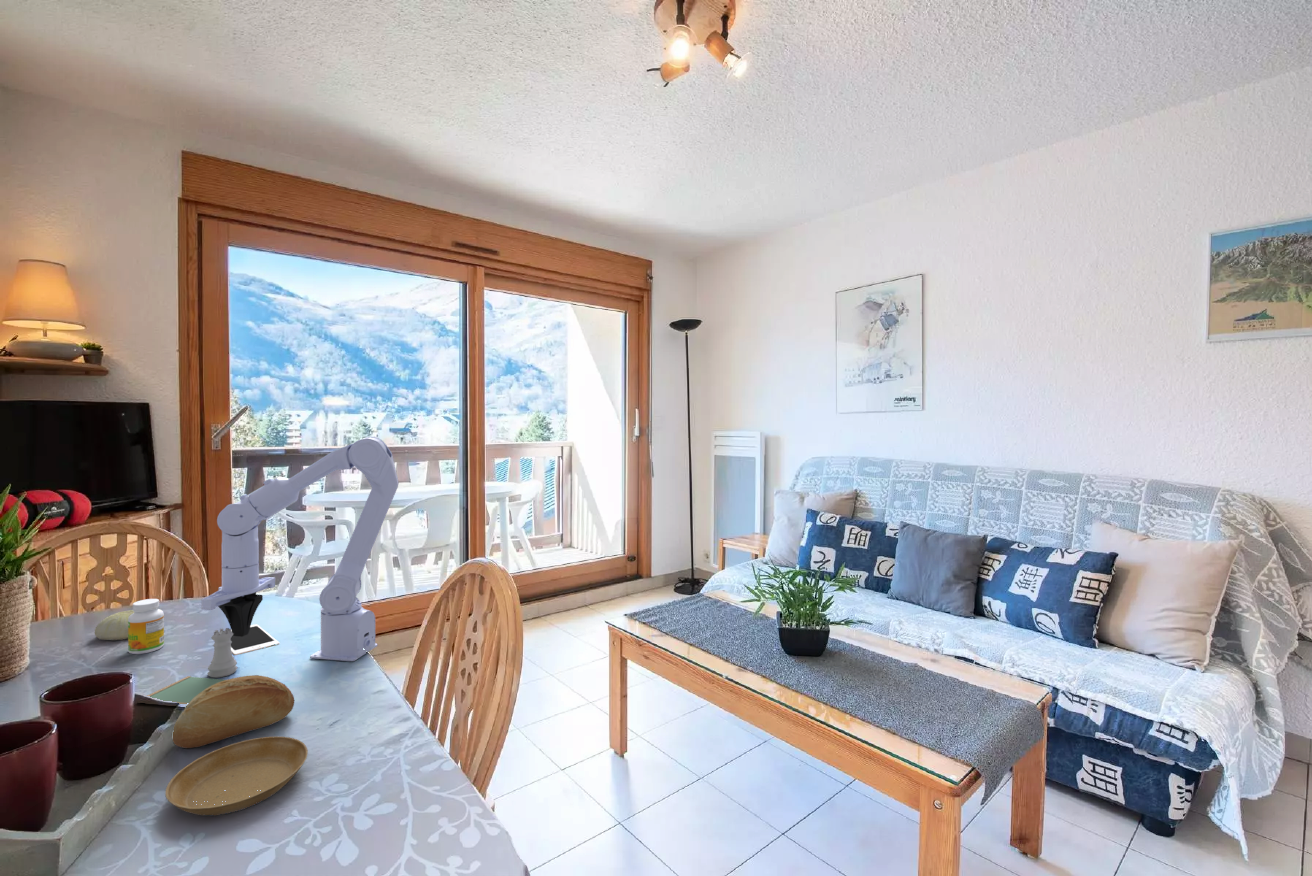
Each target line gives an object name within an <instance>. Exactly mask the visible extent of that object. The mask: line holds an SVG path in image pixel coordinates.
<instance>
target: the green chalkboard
mask: <svg viewBox="0 0 1312 876" xmlns="http://www.w3.org/2000/svg"><path fill="white" fill-rule="evenodd" d="M225 680H226V679H222V678H212V677H209V678H208V677H197V676H195V677H194V676H191V675H188V676H185V677H184V678H181V679H179V680H177V681H175V682H173V683H171V684H169V685H166V686H164V687H162V688H160V689H158V690H156V691H154V692H152V693H149V694H148V695H146V696H150V697H152V698H157V699H160V700H163V701H172V702H177V703H179V704H187V703H189V702H190V701H191V700H192V699H193V698H194V697H195V696H197V695H198V694H199V693H201V692H202V691H204V690H205V689H206V688H208V687H210V686H212V685H214V684H216V683H219V682H221V681H225Z"/></svg>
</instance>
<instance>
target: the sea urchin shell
mask: <svg viewBox="0 0 1312 876" xmlns="http://www.w3.org/2000/svg"><path fill="white" fill-rule="evenodd" d="M133 613H134V611H133V609H129V610H124V611H118V612H116V613H112V614H111V615H109V616H107V617H104V618H103V619H102V620H101V621H100V622H98V624H97V625H96V627H95V629H94V636H95V637H96V638H97V639H99V640H103V641H122V640H123V639H124V640H128V618H129V616H130V615H131V614H133Z"/></svg>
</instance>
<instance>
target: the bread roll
mask: <svg viewBox="0 0 1312 876" xmlns="http://www.w3.org/2000/svg"><path fill="white" fill-rule="evenodd" d="M224 680H225V681H221V682H219V683H216V684H214V685H212V686H210V687H208V688H206V689H205V690H204V691H202V692H201V693H199V694H198V695H197V696H195V697H194V698H193V699H192V700H191V701H190V702H189V704H188V705H187V706H186V708H183V710H182V712H181V713H180V715H179V716H178V718H177V720H176V721H175V723H174V725H173V727H174V732H173V740H172V741H173V742H174V743H173V744H174V745H175V746H176V747H179V748H182V749H183V748H184V749H192V748H200V747H203V746H205V745H206V746H207V745H209V744H212V743H215V742H219V741H223V740H226V739H229V738H231V737H235V736H238V735H241V734H245V733H248V732H252V731H255V730H258V729H261V728H264V727H265V728H266V727H269V726H271V725H274V724H275V723H277V722H279V721H281V720H283V719H285V718H286V717H287V716H288V715H289V714H290V713H291V712H292V710H293V709H294V706H295V697H294V695H293V693H292V691H291V690H290V688H289V687H288V686H287V685H286V684H285V683H283V682H281V681H279V680H277V679H276V678H271V677H268V676H264V675H257V674H256V675H255V674H254V675H243V676H238V677H237V676H236V677H232V678H229V679H224Z"/></svg>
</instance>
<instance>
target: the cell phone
mask: <svg viewBox="0 0 1312 876" xmlns="http://www.w3.org/2000/svg"><path fill="white" fill-rule="evenodd" d="M231 632H232V630H231ZM230 640H231V641H232V643H231V652H232V655H234V656H237V655H242V654H245V653H250V652H254V651H258V650H261V648H262V649H265V648H264V647H266V648H270V647H272V646H271V645H274V644H278V645H280V641H279V640H277V639H276V638H274V637H273V636H272V635H271V634H270V633H269V632H268V631H266V630H265V629H263V628H262V627H261V626H260V625H259V624H257V623H256V624H251V626H250V629H249V633H248V634H247V635H245V636H242V637H241V636H233V635H232V637H231V639H230ZM269 646H270V647H269ZM274 646H275V645H274Z"/></svg>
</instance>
